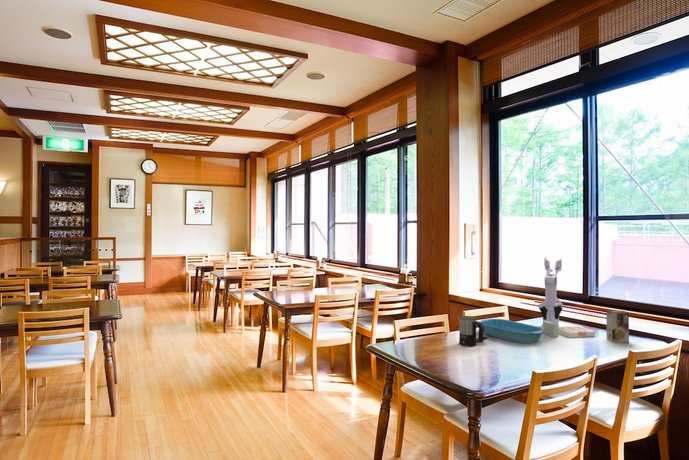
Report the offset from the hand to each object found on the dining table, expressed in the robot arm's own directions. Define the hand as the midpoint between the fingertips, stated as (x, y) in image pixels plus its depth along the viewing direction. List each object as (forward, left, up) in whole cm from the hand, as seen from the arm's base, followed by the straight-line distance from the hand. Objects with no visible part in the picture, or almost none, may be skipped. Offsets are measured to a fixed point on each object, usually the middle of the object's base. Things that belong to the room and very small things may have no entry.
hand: (550, 319), depth 253 cm
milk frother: (+10, -53, -9) cm, 55 cm away
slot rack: (+1, +15, -9) cm, 17 cm away
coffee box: (+18, +29, -9) cm, 35 cm away
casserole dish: (0, -26, -10) cm, 27 cm away
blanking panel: (0, 0, -9) cm, 9 cm away
